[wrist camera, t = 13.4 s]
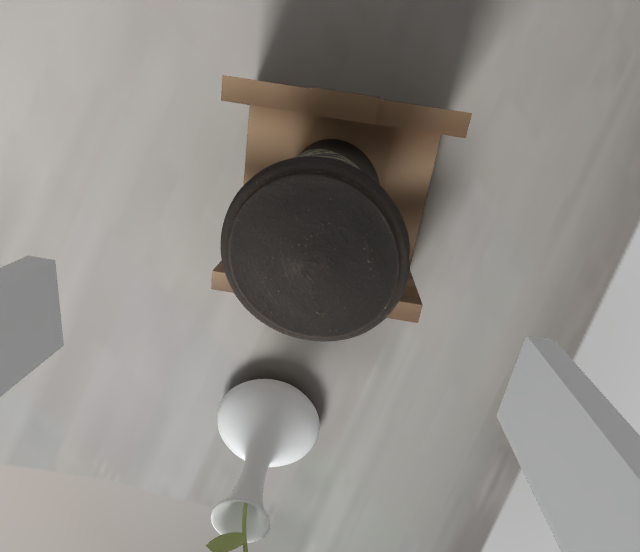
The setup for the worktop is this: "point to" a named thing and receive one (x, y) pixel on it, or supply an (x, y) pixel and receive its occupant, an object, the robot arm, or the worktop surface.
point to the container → (317, 245)
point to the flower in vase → (259, 452)
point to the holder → (357, 129)
